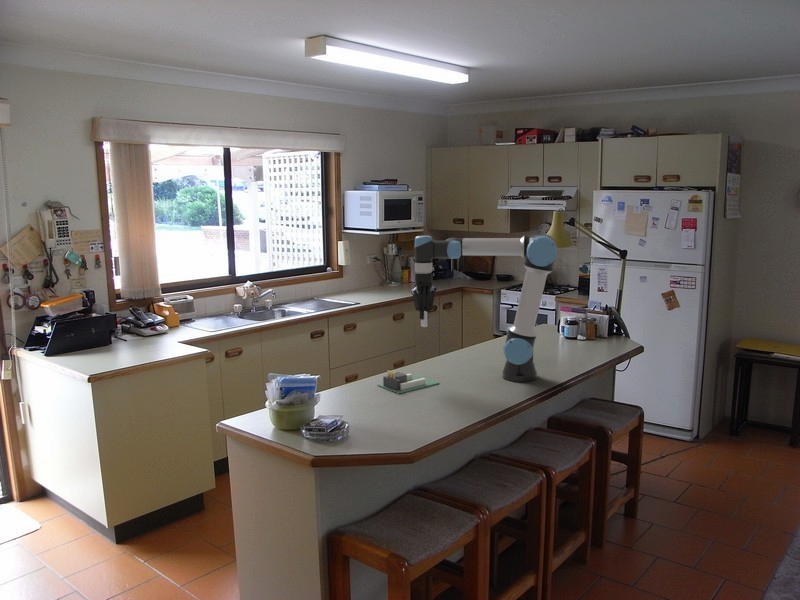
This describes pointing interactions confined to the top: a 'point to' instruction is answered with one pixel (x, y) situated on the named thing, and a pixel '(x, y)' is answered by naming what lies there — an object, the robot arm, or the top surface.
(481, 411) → the top surface
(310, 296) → the top surface
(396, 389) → the header board
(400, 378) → the plug
